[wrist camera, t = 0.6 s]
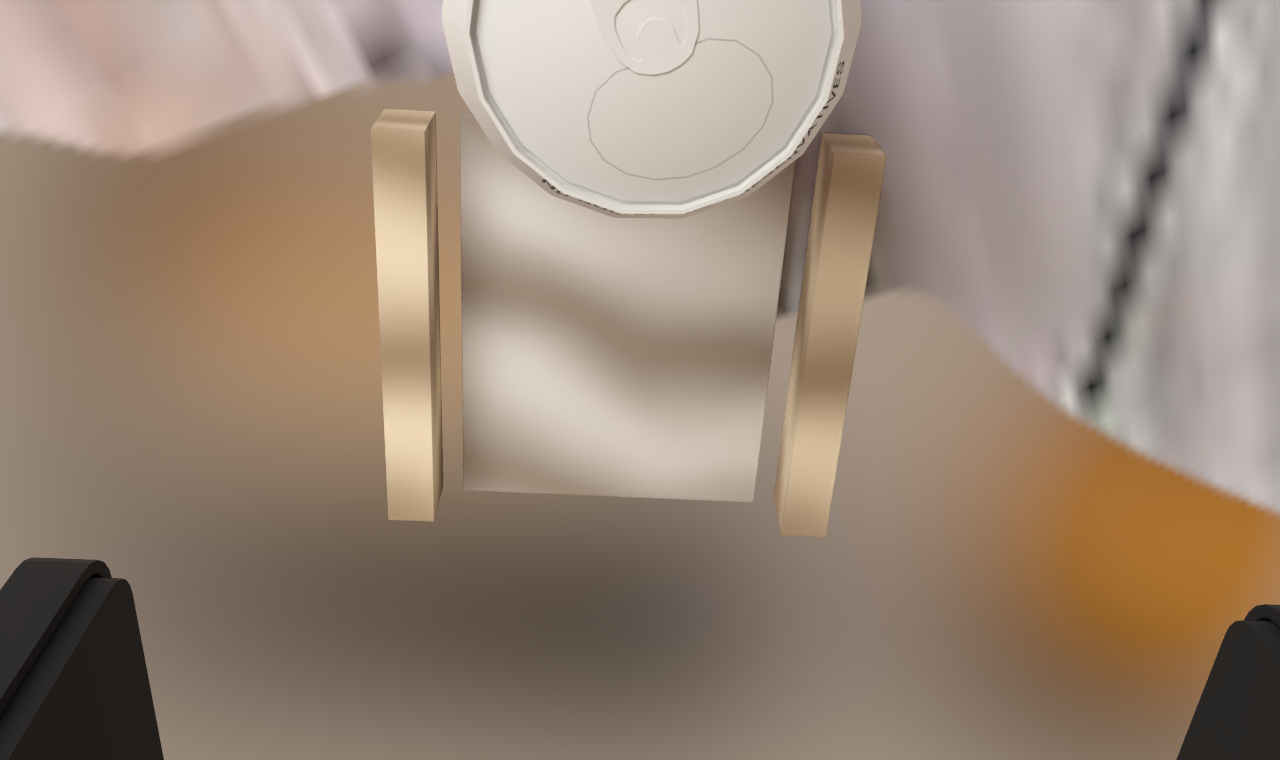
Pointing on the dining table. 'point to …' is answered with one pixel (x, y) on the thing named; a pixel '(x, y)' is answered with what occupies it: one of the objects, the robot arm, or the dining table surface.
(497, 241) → the rail cradle
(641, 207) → the supplement can
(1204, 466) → the dining table surface
